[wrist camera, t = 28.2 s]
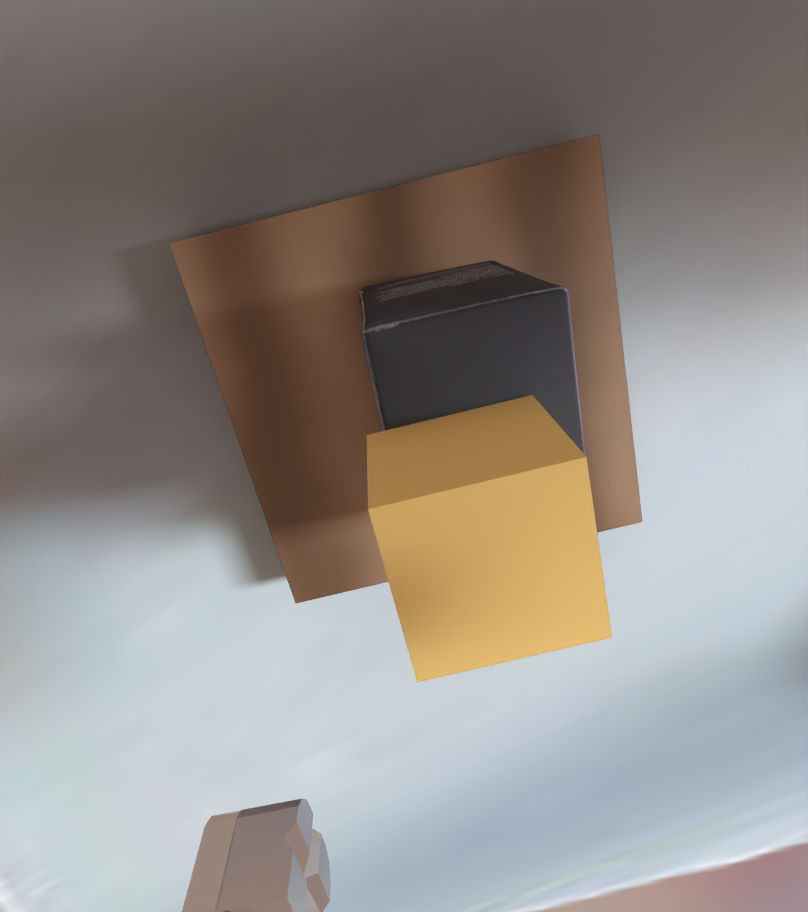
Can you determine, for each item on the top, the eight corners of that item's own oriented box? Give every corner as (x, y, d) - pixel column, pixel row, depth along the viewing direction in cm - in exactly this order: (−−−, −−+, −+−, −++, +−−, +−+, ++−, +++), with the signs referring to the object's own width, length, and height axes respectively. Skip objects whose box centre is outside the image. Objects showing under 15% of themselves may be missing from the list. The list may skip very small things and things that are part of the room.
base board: (576, 140, 29) (599, 133, 26) (620, 496, 36) (642, 521, 33) (187, 239, 30) (168, 243, 27) (300, 572, 36) (295, 603, 34)
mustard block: (532, 394, 19) (586, 457, 15) (556, 540, 21) (612, 637, 16) (366, 434, 19) (368, 509, 15) (405, 576, 21) (417, 682, 17)
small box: (535, 477, 32) (612, 600, 22) (403, 505, 32) (421, 639, 22) (504, 254, 28) (580, 282, 18) (354, 286, 28) (349, 332, 18)
